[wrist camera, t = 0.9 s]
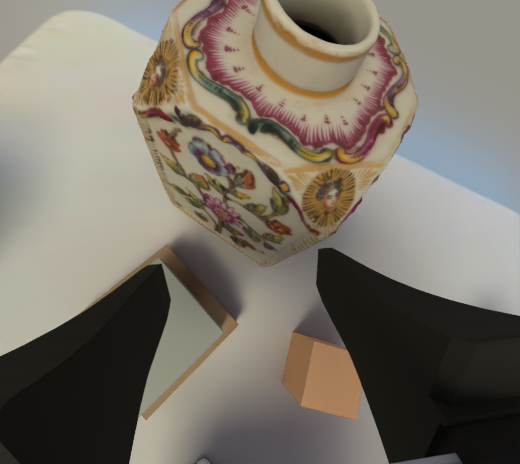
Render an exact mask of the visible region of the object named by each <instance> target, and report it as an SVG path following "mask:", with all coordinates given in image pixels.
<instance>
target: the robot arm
mask: <svg viewBox="0 0 520 464" xmlns="http://www.w3.org/2000/svg"><path fill="white" fill-rule="evenodd" d="M316 285H317V288H318V291H319V294H320V297H321V299H322V302H323V304H324V306H325V308H326V310H327V312H328V314H329V316H330V318H331V319H332V321H333V323H334V325H335V327H336V329H337V331H338V333H339V335H340V336H341V338H342V340H343V342H344V344H345V346H346V348H347V350H348V352H349V355H350V357H351V360H352V362H353V365H354V367H355V369H356V372H357V374H358V377H359V380H360V382H361V385H362V387H363V390H364V393H365V395H366V398H367V401H368V403H369V406H370V409H371V412H372V415H373V417H374V420H375V423H376V426H377V429H378V431H379V434H380V437H381V440H382V443H383V446H384V449H385V452H386V455H387V458H388V461H389V464H520V316H517V315H512V314H507V313H502V312H497V311H492V310H487V309H483V308H479V307H475V306H471V305H467V304H463V303H459V302H456V301H452V300H449V299H445V298H442V297H439V296H436V295H433V294H429V293H426V292H423V291H421V290H418V289H415V288H412V287H410V286H407V285H405V284H402V283H400V282H397V281H395V280H393V279H390V278H388V277H386V276H384V275H382V274H380V273H378V272H376V271H374V270H372V269H370V268H368V267H366V266H364V265H362V264H361V263H359V262H357V261H355V260H353V259H352V258H350V257H348V256H346V255H344V254H343V253H341V252H339V251H337V250H335V249H333V248H323V249H318V265H317V281H316ZM170 303H171V297H170V294H169V290H168V286H167V282H166V278H165V274H164V270H163V266H162V264H153V265H147V266H145V267H144V268H142V269H141V270H140V271H138V272H137V273H136V274H134V275H133V276H132V277H131V278H129V279H128V280H127V281H125V282H124V283H123V284H121V285H120V286H119V287H117V288H116V289H115V290H113V291H112V292H111V293H109V294H108V295H107V296H105V297H104V298H102V299H101V300H99V301H98V302H97V303H95V304H94V305H92V306H91V307H89V308H88V309H86V310H85V311H83V312H82V313H80V314H79V315H77V316H75V317H74V318H72V319H70V320H69V321H67V322H65V323H64V324H62V325H60V326H59V327H57V328H55V329H53V330H51V331H49V332H48V333H46V334H44V335H42V336H40V337H38V338H36V339H34V340H32V341H31V342H29V343H27V344H25V345H23V346H21V347H19V348H17V349H15V350H13V351H11V352H8V353H6V354H4V355H2V356H0V464H129V461H130V456H131V451H132V445H133V440H134V435H135V430H136V426H137V421H138V416H139V412H140V407H141V403H142V399H143V394H144V390H145V386H146V382H147V378H148V375H149V372H150V368H151V365H152V363H153V360H154V357H155V354H156V351H157V348H158V345H159V342H160V340H161V337H162V334H163V331H164V328H165V325H166V322H167V318H168V314H169V309H170ZM196 464H211V463H210V462H209V461H208V460H207V459H205V458H203V459H200V460H199V461H198V462H197V463H196Z"/></svg>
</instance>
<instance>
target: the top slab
mask: <svg viewBox="0 0 520 464" xmlns="http://www.w3.org/2000/svg"><path fill="white" fill-rule="evenodd" d="M153 264H162V266H163V270H164V274H165V278H166V282H167V286H168V290H169V294H170V297H171V303H170V309H169V314H168V318H167V322H166V325H165V328H164V331H163V334H162V337H161V340H160V342H159V345H158V348H157V351H156V354H155V357H154V360H153V363H152V365H151V368H150V372H149V375H148V378H147V382H146V386H145V390H144V394H143V399H142V403H141V407H140V412H139V416H140V415H141V414H142V413H143V412H144V411H145V410H146V409H147V408H148V407H149V406H150V405H151V404H152V403H153V402H154V401H155V400H156V399H157V398H158V397H159V396H160V395H161V394H162V393H163V392H165V391H166V390H167V389H168V388H169V387H170V386H171V385H172V384H173V383H174V382H175V381H176V380H177V379H178V378H179V377H180V376H181V375H182V374H183V373H184V372H185V371H186V370H187V369H188V368H189V367H190V366H191V365H192V364H193V363H194V362H195V361H196V360H197V359H198V358H199V357H200V356H201V355H202V354H203V353H204V352H205V351H206V350H207V349H208V348H209V347H210V346H211V345H212V344H213V343H214V342H215V341H216V340H217V339H218V338H219V337H220V336H221V335H222V334H223V333H224V332H223V330H222V327H221V326H220V325H219V324H218V322H217V321H216V320H215V319H214V318H213V317H212V315H211V314H210V313H209V312H208V311H207V310H206V309H205V307H204V306H203V305H202V304H201V303H200V302H199V300H198V299H197V298H196V297H195V296H194V295H193V294H192V292H191V291H190V290H189V289H188V288H187V287H186V285H185V284H184V283H183V282H182V281H181V280H180V279H179V277H178V276H177V275H176V274H175V273H174V272H173V271H172V269H171V268H170V267H169V266H168V265H167V264H166V262H164V261H163V260H161V259H160V258H158V259H156V260H155V261H154V262H152V263H151V264H150V265H153ZM139 416H138V417H139Z"/></svg>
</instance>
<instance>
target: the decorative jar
mask: <svg viewBox="0 0 520 464" xmlns="http://www.w3.org/2000/svg"><path fill="white" fill-rule="evenodd" d="M132 98H133V110H134V113H135V115H136V117H137V120H138V123H139V126H140V128H141V130H142V133H143V135H144V138H145V141H146V143H147V146H148V148H149V150H150V153H151V156H152V159H153V162H154V163H155V166H156V169H157V171H158V174H159V176H160V179H161V181H162V183H163V186H164V188H165V190H166V193H167V195H168V196H169V199H170V201H171V202H172V203H173V204H174V205H175V206H176V207H177V208H179V209H180V210H182V211H183V212H184V213H186V214H187V215H189V216H190V217H191V218H193V219H194V220H196V221H197V222H198V223H200V224H201V225H203V226H204V227H206V228H207V229H209V230H210V231H212V232H213V233H215V234H216V235H218V236H219V237H220V238H222V239H223V240H225V241H226V242H228V243H230V244H231V245H232V246H234V247H235V248H237V249H238V250H240V251H241V252H243V253H244V254H245V255H247V256H248V257H250V258H251V259H253V260H254V261H255V262H257V263H258V264H260V265H262V266H270V265H273V264H276V263H278V262H280V261H282V260H284V259H286V258H288V257H290V256H292V255H294V254H297V253H299V252H301V251H303V250H305V249H307V248H309V247H311V246H313V245H315V244H316V243H318V242H321V241H322V240H324V239H325V238H326V237H328V236H331V235H333V234H335V233H336V231H337V229H338V227H339V226H340V224H341V223H342V222H344V221H345V220H346V219H347V217H348V216H349V215H350V214H352V213H353V212H354V211H355V209H356V208H357V206H358V205H359V204H360V203H361V201H362V195H363V194H364V193H365V192H366V190H367V189H368V188H369V187H370V186H371V185H372V184H373V183H374V182H375V181H377V179H378V177H379V175H380V174H381V173H382V171H383V170H384V169H385V167H386V166H387V164H388V163H389V161H390V159H391V158H392V157H393V155H394V153H395V152H396V150H397V148H398V147H399V145H400V143H401V141H402V139H403V137H404V134H405V133H406V132H408V130H409V129H410V127H411V124H412V121H413V119H414V116H415V113H416V110H417V108H418V97H417V94H416V92H415V88H414V85H413V82H412V78H411V75H410V71H409V68H408V66H407V63H406V60H405V58H404V55H403V53H402V51H401V49H400V47H399V45H398V43H397V41H396V38H395V36H394V34H393V32H392V30H391V28H390V26H389V25H388V24H387V23H386V21H384V20H383V19H382V18H380V17H379V13H378V10H377V7H376V5H375V4H374V2H373V0H182V1H181V2H180V3H179V4H177V5H176V6H175V8H174V9H173V10H172V11H171V13H170V16H169V18H168V20H167V23H166V25H165V28H164V29H163V31H162V34H161V37H160V40H159V42H158V45H157V47H156V50H155V52H154V54H153V55H152V57H151V58H150V59H149V62H148V64H147V67H146V69H145V72H144V75H143V78H142V81H141V84H140V86H139V89H138V91H137V92H136V93H135V94H134V95H133V97H132Z"/></svg>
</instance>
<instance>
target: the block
mask: <svg viewBox="0 0 520 464" xmlns="http://www.w3.org/2000/svg"><path fill="white" fill-rule="evenodd" d="M282 383H283V384H284V386H285V387H286V388H287V389H288V391H289V392H290V393H291V394H292V395H293V397H294V398H295V399H296V400H297V402H298V403H299V404H300V405H301V406H303V407H307V408H311V409H314V410H318V411H322V412H326V413H330V414H334V415H338V416H341V417H345V418H349V419H353V420H357V415H358V408H359V400H360V393H361V386H362V385H361V382H360V380H359V377H358V374H357V372H356V369H355V367H354V365H353V362H352V360H351V357H350V355H349V352H348V350H347V349H346V348H344V347H341V346H339V345H336V344H333V343H330V342H326V341H323V340H320V339H316V338H313V337H310V336H306V335H303V334H299V333H296V332H293V334H292V339H291V343H290V347H289V352H288V356H287V361H286V365H285V369H284V374H283V378H282Z"/></svg>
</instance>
